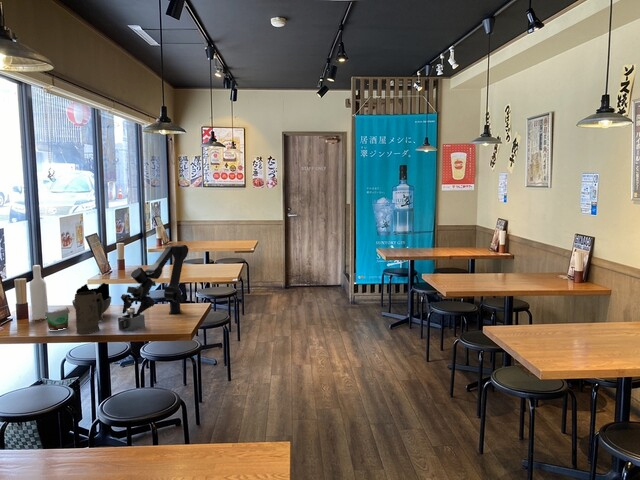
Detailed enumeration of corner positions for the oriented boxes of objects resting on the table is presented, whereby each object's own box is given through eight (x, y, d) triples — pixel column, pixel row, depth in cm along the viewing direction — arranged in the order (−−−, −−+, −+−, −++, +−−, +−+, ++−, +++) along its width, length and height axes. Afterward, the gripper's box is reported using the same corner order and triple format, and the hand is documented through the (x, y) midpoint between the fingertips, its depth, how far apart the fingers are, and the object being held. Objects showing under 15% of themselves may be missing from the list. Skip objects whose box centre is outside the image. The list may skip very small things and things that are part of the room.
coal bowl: (65, 320, 283) (63, 287, 281) (87, 311, 303) (85, 279, 301) (99, 321, 280) (97, 287, 278) (119, 312, 300) (117, 280, 297)
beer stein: (87, 335, 255) (86, 295, 254) (70, 333, 259) (69, 293, 258) (109, 328, 270) (109, 290, 269) (93, 327, 273) (92, 289, 272)
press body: (132, 325, 272) (131, 312, 272) (145, 326, 269) (144, 314, 268) (114, 331, 262) (114, 318, 261) (128, 332, 258) (127, 320, 258)
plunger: (131, 325, 271) (130, 306, 270) (141, 326, 268) (140, 307, 267) (122, 328, 265) (120, 309, 264) (132, 330, 262) (130, 310, 261)
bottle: (40, 321, 284) (35, 267, 280) (29, 320, 286) (24, 266, 283) (52, 317, 291) (47, 264, 288) (41, 316, 294) (36, 264, 290)
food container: (53, 333, 260) (51, 313, 259) (46, 331, 264) (44, 312, 263) (76, 327, 271) (74, 308, 270) (69, 325, 274) (67, 306, 273)
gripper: (122, 278, 272) (106, 304, 263) (149, 281, 264) (134, 307, 255) (134, 290, 280) (119, 315, 271) (161, 293, 272) (147, 319, 263)
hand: (129, 314), depth 265 cm, fingers open, 9 cm apart
